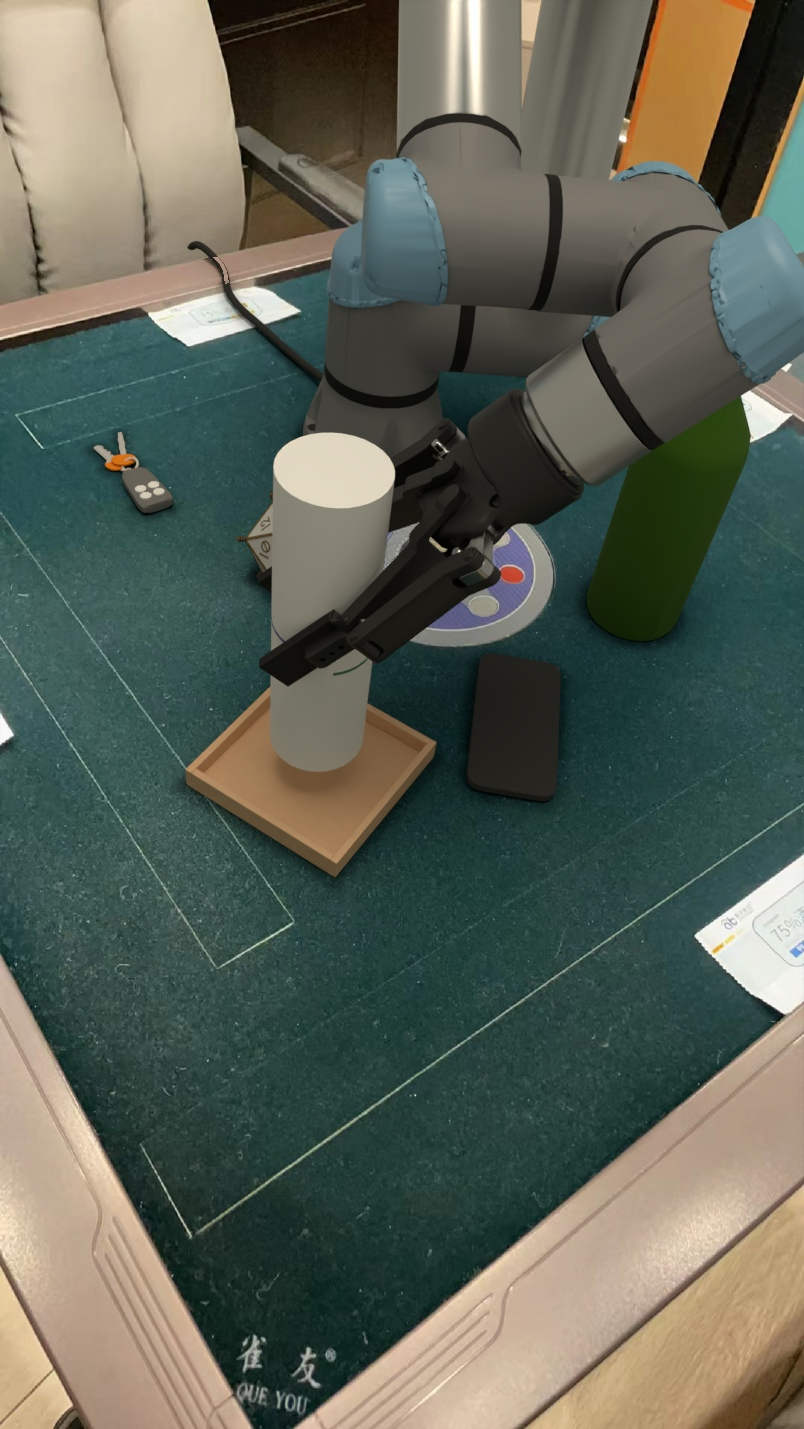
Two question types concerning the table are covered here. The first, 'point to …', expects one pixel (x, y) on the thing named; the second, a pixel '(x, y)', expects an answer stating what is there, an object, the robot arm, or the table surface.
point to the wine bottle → (667, 525)
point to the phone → (515, 728)
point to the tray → (311, 784)
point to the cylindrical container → (325, 585)
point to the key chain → (137, 480)
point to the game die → (261, 539)
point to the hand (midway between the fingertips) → (272, 629)
